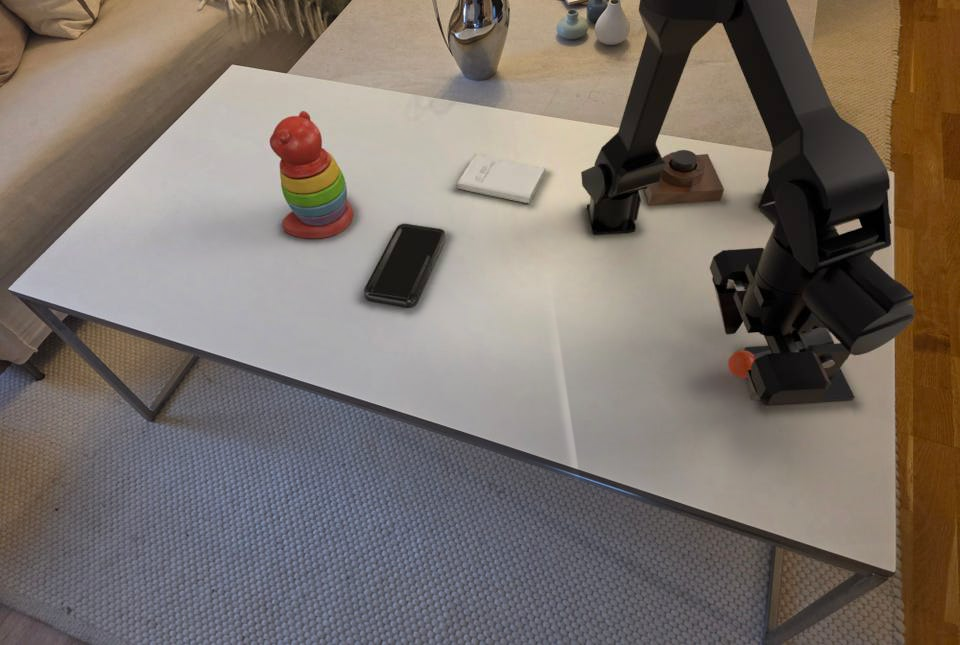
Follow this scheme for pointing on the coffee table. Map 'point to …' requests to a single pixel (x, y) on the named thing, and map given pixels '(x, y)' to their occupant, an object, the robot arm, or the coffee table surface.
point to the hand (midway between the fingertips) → (741, 364)
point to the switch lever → (744, 359)
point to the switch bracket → (831, 361)
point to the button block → (686, 184)
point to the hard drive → (502, 178)
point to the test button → (683, 161)
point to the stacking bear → (310, 180)
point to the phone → (405, 265)
